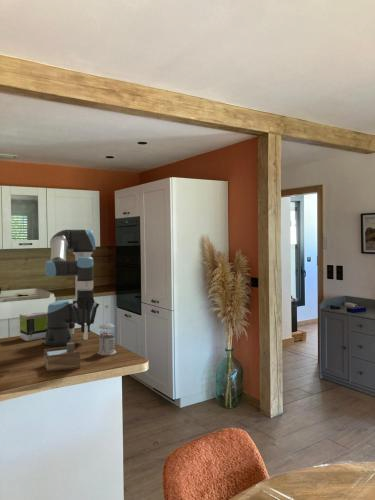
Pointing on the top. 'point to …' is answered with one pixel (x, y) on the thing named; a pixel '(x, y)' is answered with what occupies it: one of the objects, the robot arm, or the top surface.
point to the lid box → (61, 360)
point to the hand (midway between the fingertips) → (85, 338)
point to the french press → (106, 340)
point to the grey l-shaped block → (69, 350)
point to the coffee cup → (71, 328)
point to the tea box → (33, 325)
